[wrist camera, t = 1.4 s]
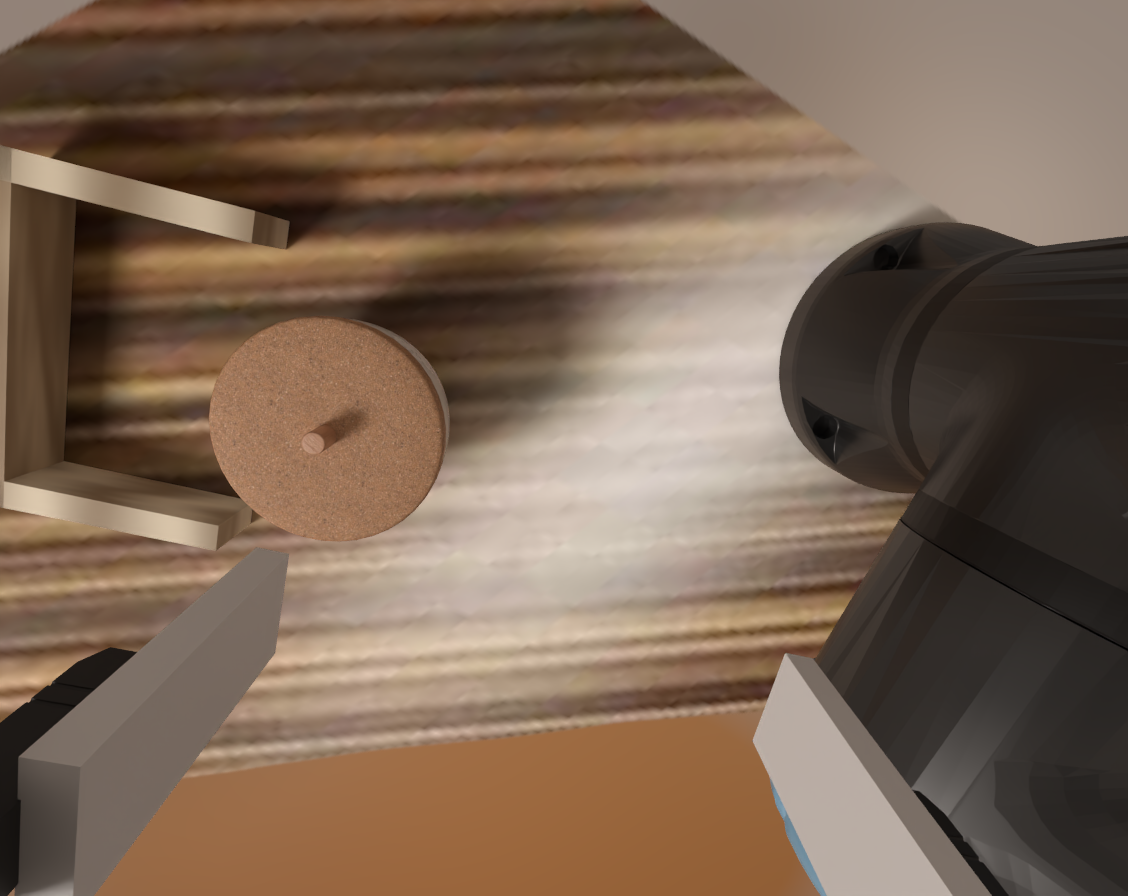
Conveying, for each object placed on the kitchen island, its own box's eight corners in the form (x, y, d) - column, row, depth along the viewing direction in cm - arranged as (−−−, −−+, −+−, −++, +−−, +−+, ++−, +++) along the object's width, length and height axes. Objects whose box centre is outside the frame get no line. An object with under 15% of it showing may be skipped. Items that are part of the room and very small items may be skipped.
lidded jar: (361, 271, 33) (292, 261, 24) (502, 404, 35) (488, 441, 26) (241, 407, 34) (134, 445, 25) (383, 526, 37) (331, 601, 28)
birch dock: (289, 221, 32) (255, 211, 28) (250, 523, 36) (215, 550, 32) (48, 159, 31) (-24, 139, 27) (36, 479, 35) (-27, 501, 31)
